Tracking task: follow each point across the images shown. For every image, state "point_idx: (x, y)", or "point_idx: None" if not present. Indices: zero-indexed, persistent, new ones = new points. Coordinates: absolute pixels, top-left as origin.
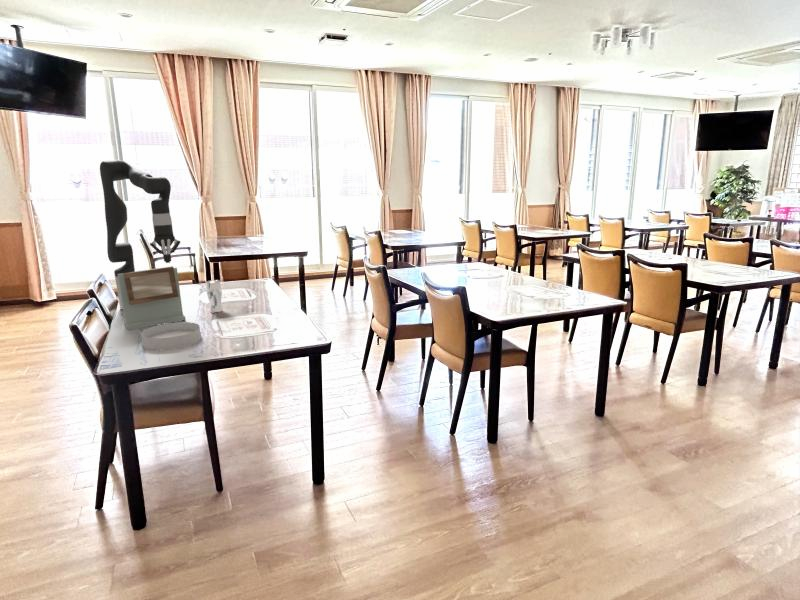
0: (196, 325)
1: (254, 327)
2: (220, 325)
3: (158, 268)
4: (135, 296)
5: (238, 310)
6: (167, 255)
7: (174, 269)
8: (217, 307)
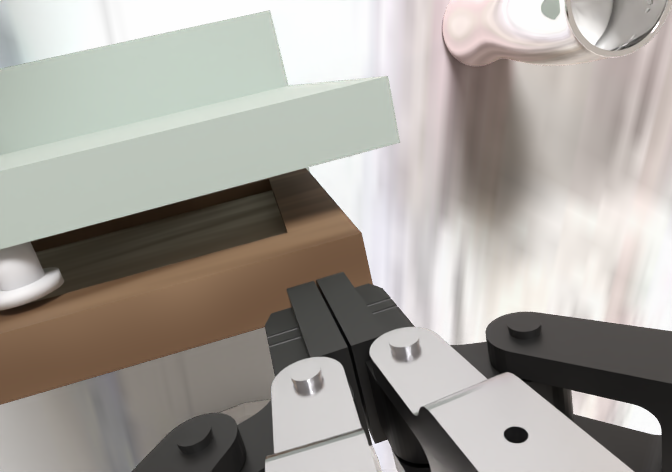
0: (378, 468)
1: (576, 407)
2: (463, 336)
3: (165, 322)
4: None
5: (583, 69)
6: (371, 430)
7: (362, 149)
8: (498, 59)
